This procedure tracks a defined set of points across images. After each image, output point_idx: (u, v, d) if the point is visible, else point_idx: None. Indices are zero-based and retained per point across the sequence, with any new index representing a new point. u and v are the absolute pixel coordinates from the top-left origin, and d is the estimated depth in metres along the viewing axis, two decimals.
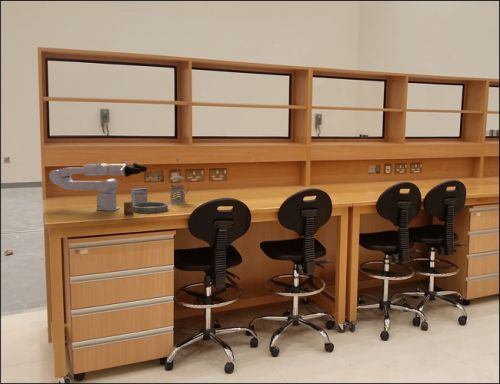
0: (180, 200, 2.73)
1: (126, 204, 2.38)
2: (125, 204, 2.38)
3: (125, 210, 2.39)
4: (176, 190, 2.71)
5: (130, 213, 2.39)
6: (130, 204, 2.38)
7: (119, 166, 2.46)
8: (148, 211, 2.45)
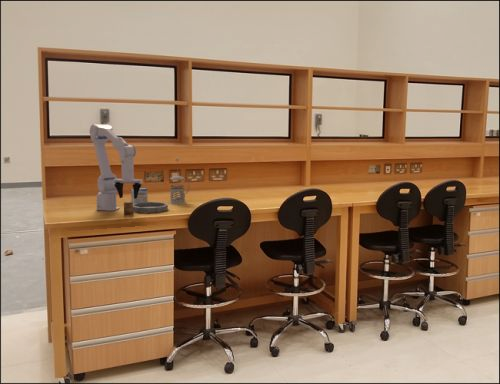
0: (180, 200, 2.73)
1: (126, 204, 2.38)
2: (125, 204, 2.38)
3: (125, 210, 2.39)
4: (176, 190, 2.71)
5: (130, 213, 2.39)
6: (130, 204, 2.38)
7: (122, 174, 2.37)
8: (148, 211, 2.45)
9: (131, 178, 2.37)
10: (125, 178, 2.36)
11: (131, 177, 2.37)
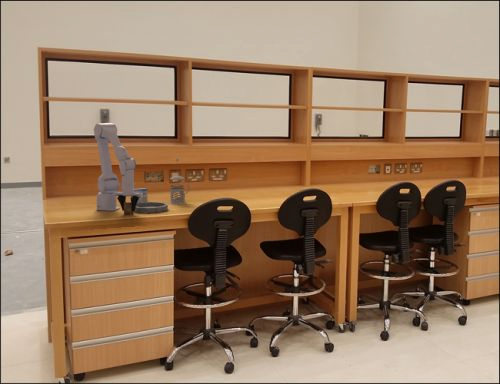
0: (180, 200, 2.73)
1: (126, 204, 2.38)
2: (125, 204, 2.38)
3: (125, 210, 2.39)
4: (176, 190, 2.71)
5: (130, 213, 2.39)
6: (130, 204, 2.38)
7: (122, 187, 2.38)
8: (148, 211, 2.45)
9: (131, 191, 2.38)
10: (125, 191, 2.37)
11: (131, 190, 2.38)
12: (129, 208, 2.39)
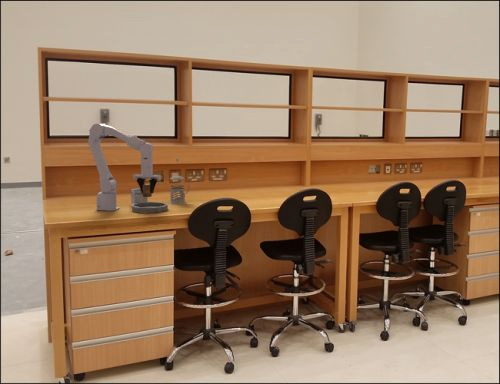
0: (180, 200, 2.73)
1: (145, 186, 2.48)
2: (144, 186, 2.48)
3: (143, 192, 2.49)
4: (176, 190, 2.71)
5: (148, 195, 2.49)
6: (148, 187, 2.48)
7: (141, 170, 2.48)
8: (148, 211, 2.45)
9: (150, 174, 2.48)
10: (144, 174, 2.47)
11: (150, 173, 2.48)
12: (147, 190, 2.48)
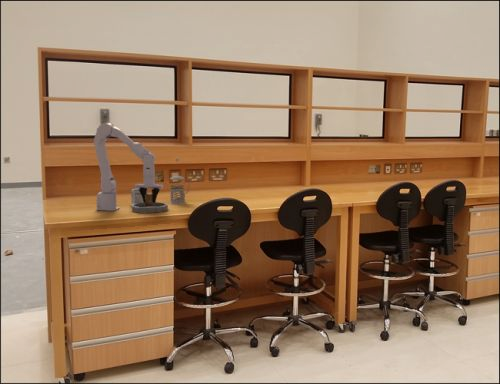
0: (180, 200, 2.73)
1: (147, 196, 2.50)
2: (146, 196, 2.50)
3: (145, 201, 2.51)
4: (176, 190, 2.71)
5: (151, 204, 2.51)
6: (151, 196, 2.50)
7: (143, 179, 2.50)
8: (148, 211, 2.45)
9: (152, 183, 2.50)
10: (147, 183, 2.49)
11: (152, 182, 2.50)
12: (150, 200, 2.50)
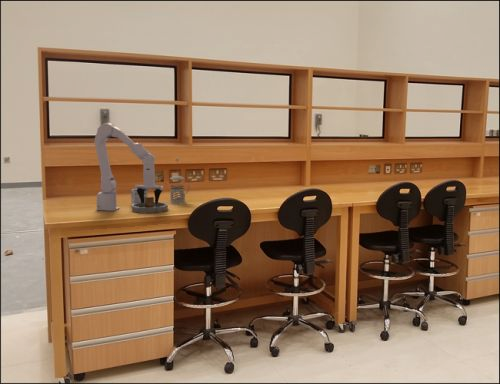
0: (180, 200, 2.73)
1: (147, 199, 2.50)
2: (146, 199, 2.51)
3: (145, 204, 2.51)
4: (176, 190, 2.71)
5: None
6: (151, 199, 2.51)
7: None
8: (148, 211, 2.45)
9: (152, 184, 2.50)
10: (147, 184, 2.49)
11: (152, 183, 2.50)
12: (150, 203, 2.51)
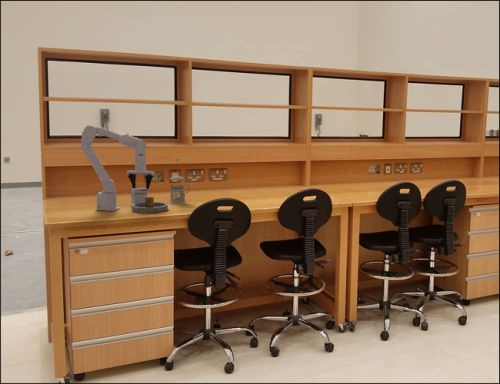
0: (180, 200, 2.73)
1: (147, 199, 2.50)
2: (146, 199, 2.51)
3: (145, 204, 2.51)
4: (176, 190, 2.71)
5: None
6: (151, 199, 2.51)
7: (135, 166, 2.53)
8: (148, 211, 2.45)
9: (144, 170, 2.53)
10: (138, 170, 2.52)
11: (144, 169, 2.53)
12: (150, 203, 2.51)
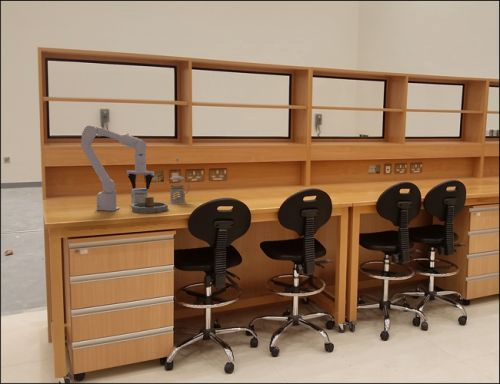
0: (180, 200, 2.73)
1: (147, 199, 2.50)
2: (146, 199, 2.51)
3: (145, 204, 2.51)
4: (176, 190, 2.71)
5: None
6: (150, 199, 2.51)
7: (135, 166, 2.53)
8: (148, 211, 2.45)
9: (144, 170, 2.53)
10: (138, 170, 2.52)
11: (144, 169, 2.53)
12: (150, 203, 2.51)
